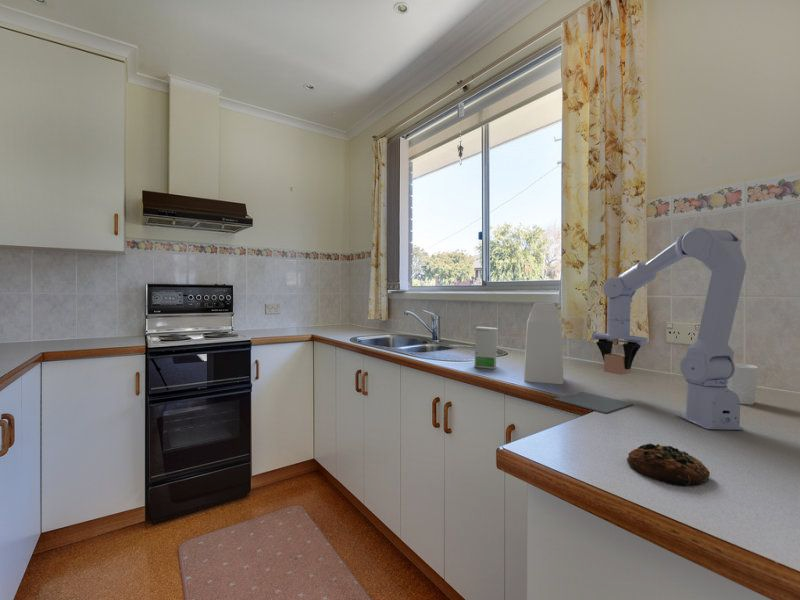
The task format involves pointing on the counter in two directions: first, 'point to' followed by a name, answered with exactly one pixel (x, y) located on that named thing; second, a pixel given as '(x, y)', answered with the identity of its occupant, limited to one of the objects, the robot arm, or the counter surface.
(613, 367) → the cube
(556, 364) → the milk
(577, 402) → the panel
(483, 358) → the skincare box
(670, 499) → the counter surface
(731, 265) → the robot arm
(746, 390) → the white cup
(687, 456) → the bread roll
